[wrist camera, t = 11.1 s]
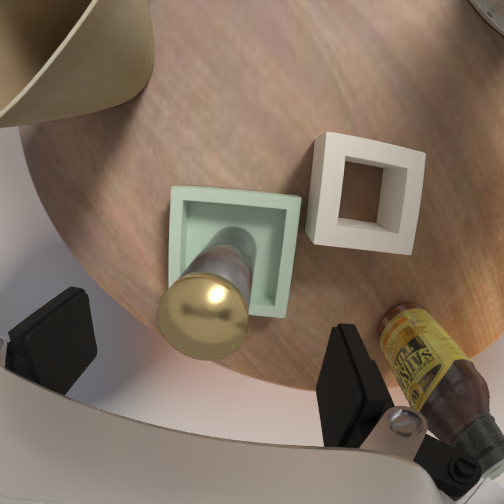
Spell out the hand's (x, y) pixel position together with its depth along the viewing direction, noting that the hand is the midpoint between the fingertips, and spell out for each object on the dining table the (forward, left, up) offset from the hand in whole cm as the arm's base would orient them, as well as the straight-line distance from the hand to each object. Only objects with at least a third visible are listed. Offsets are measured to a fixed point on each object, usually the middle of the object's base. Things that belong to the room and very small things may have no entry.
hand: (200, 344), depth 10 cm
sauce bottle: (-18, +8, -17) cm, 25 cm away
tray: (0, +1, -17) cm, 17 cm away
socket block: (-10, -5, -17) cm, 20 cm away
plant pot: (+13, -16, -17) cm, 27 cm away
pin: (0, +1, -16) cm, 16 cm away
